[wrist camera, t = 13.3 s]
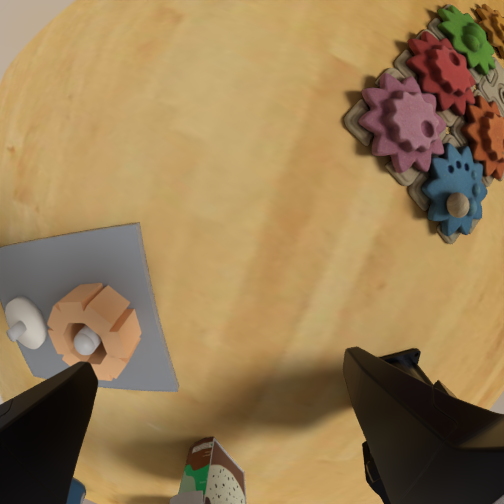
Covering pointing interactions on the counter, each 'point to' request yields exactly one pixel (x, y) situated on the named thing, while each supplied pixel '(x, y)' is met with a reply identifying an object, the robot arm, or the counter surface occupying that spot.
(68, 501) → the soda can
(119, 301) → the orange gear
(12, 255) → the gear board
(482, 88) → the gear puzzle
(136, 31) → the counter surface
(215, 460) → the food container
